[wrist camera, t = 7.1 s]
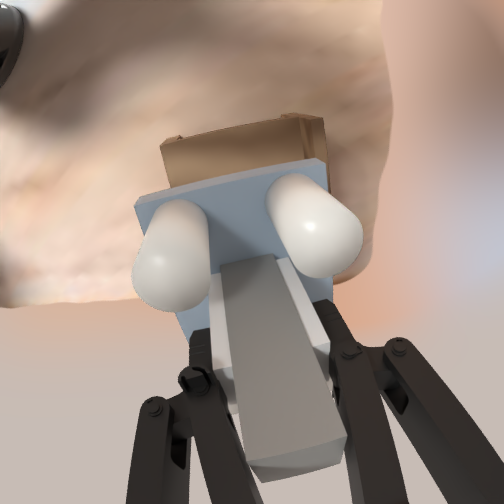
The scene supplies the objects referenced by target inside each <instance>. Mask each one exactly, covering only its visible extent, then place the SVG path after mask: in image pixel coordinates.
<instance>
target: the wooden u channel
mask: <svg viewBox="0 0 504 504" xmlns="http://www.w3.org/2000/svg"><path fill="white" fill-rule="evenodd" d="M281 117H282V118H281V119H274V120H268V121H262V122H256V123H251V124H245V125H240V126H235V127H230V128H225V129H221V130H216V131H211V132H207V133H203V134H199V135H194V136H190V137H186V138H183V139H180V135H179V136H175V137H172V138H168V139H166V140H165V141H164V142H163V143H162V144H161V145H160V150H161V154H162V157H163V161H164V165H165V169H166V172H167V176H168V180H169V183H170V187H171V188H174V187H178V186H182V185H186V184H190V183H194V182H198V181H202V180H206V179H210V178H215V177H219V176H223V175H228V174H232V173H237V172H242V171H246V170H251V169H256V168H261V167H266V166H272V165H277V164H282V163H288V162H293V161H299V160H305V159H311V158H317V159H319V160H321V161H322V162H324V163H326V173H327V184H328V193H329V194H330V195H331V189H330V177H329V167H328V157H327V147H326V138H325V130H324V122H323V118H321V117H315V116H309V115H303V114H297V113H290V114H283V115H281Z"/></svg>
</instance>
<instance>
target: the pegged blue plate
mask: <svg viewBox="0 0 504 504" xmlns="http://www.w3.org/2000/svg"><path fill="white" fill-rule="evenodd" d="M134 208H135V211H136V214H137V217H138V220H139V223H140V226H141V229H142V231H143V234H144V239H143V242H142V244H141V247H140V249H139V252H138V255H137V257H136V260H135V263H134V265H133V269H132V275H131V277H132V284H133V287H134V289H135V291H136V293H137V294H138V296H139V297H140V298H141V299H142V300H143V301H144V302H145V303H146V304H148V305H150V306H151V307H153V308H155V309H158V310H161V311H166V312H175V314H176V317H177V319H178V321H179V324H180V326H181V328H182V330H183V332H184V334H185V336H186V339H187V341H188V343H189V339H190V337H191V335H192V333H193V331H194V330H199V329H204V328H209V327H210V316H209V297H208V292H209V290H210V286H211V275H212V274H216V273H221V281H222V290H223V298H224V307H225V315H226V324H227V332H228V340H229V348H230V355H231V363H232V370H233V377H234V384H235V392H236V398H237V404H233V405H229V403H228V409H229V411H230V413H231V415H232V414H237V413H239V418H240V425H241V431H242V438H243V443H244V449H245V456H246V461H247V463H248V464H249V466H250V467H251V469H252V470H253V472H254V473H255V474H256V476H257V477H258V479H259V480H260V481H261V483H265V482H270V481H275V480H280V479H285V478H289V477H293V476H297V475H301V474H305V473H309V472H313V471H317V470H320V469H323V468H327V467H330V466H333V465H336V464H339V463H340V462H341V459H342V455H343V451H344V447H345V443H346V439H347V433H346V430H345V428H344V425H343V423H342V420H341V418H340V415H339V413H338V410H337V408H336V405H335V403H334V400H333V398H332V395H331V393H330V391H331V390H333V382H332V380H331V377H330V375H329V381H327V382H326V380H325V378H324V375H323V373H322V370H321V368H320V365H319V363H318V360H317V358H316V355H315V353H314V351H313V348H312V346H311V343H310V341H309V338H308V336H307V333H306V331H305V329H304V326H303V324H302V321H301V319H300V317H299V314H298V312H297V309H296V307H295V305H294V302H293V300H292V298H291V295H290V293H289V290H288V288H287V286H286V283H285V281H284V279H283V276H282V274H281V272H280V269H279V267H278V264H277V262H276V260H277V259H281V258H286V257H289V259H290V261H291V263H292V265H293V267H294V269H295V271H296V273H297V275H298V277H299V279H300V281H301V283H302V285H303V287H304V289H305V291H306V293H307V295H308V297H309V299H310V301H311V303H313V302H316V301H320V300H324V299H328V300H329V301H331V302H332V303H333V276H335V275H337V274H339V273H341V272H342V271H344V270H345V269H347V268H348V267H349V266H350V265H351V264H352V263H353V262H354V261H355V259H356V258H357V256H358V255H359V253H360V250H361V248H362V244H363V228H362V225H361V223H360V221H359V219H358V218H357V217H356V216H355V215H354V214H353V213H352V212H351V211H350V210H348V209H347V208H346V207H345V206H344V205H343V204H341V203H340V202H339V201H338V200H337V199H335V198H334V197H333V196H332V195H330V194H329V193H328V184H327V173H326V163H324V162H322V161H321V160H319V159H317V158H311V159H305V160H299V161H293V162H288V163H282V164H277V165H272V166H266V167H261V168H256V169H251V170H246V171H242V172H237V173H232V174H228V175H223V176H219V177H215V178H210V179H206V180H202V181H198V182H194V183H190V184H186V185H182V186H178V187H174V188H170V189H166V190H163V191H159V192H155V193H152V194H148V195H145V196H141V197H139V199H138V200H137V202H136V203H135V205H134Z"/></svg>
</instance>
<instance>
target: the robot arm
mask: <svg viewBox="0 0 504 504" xmlns="http://www.w3.org/2000/svg"><path fill="white" fill-rule="evenodd" d="M22 39H23V20H22V17H21V14H20V13H19V11H18V10H17V9H16V8H14V7H12V6H10V5H7V4H3V3H0V87H1V86H2V85H3V83H4V82H5V81H6V79H7V77H8V76H9V74H10V72H11V71H12V69H13V67H14V64H15V62H16V60H17V57H18V54H19V51H20V48H21V44H22ZM276 262H277V264H278V267H279V269H280V272H281V274H282V276H283V279H284V281H285V283H286V286H287V288H288V290H289V293H290V295H291V298H292V300H293V302H294V305H295V307H296V309H297V312H298V314H299V317H300V319H301V321H302V324H303V326H304V329H305V331H306V333H307V336H308V338H309V341H310V343H311V346H312V348H313V351H314V353H315V355H316V358H317V360H318V363H319V365H320V368H321V370H322V373H323V375H324V378H325V380H326V382H327V381H329V375H330V377H331V380H332V382H333V390H332V398H334V399H335V404H336V408H337V410H338V413H339V415H340V418H341V420H342V423H343V425H344V428H345V430H346V433H347V439H346V443H345V447H344V452H345V458H346V464H347V470H348V476H349V482H350V489H351V495H352V503H353V504H409V502H408V498H407V494H406V489H405V484H404V480H403V476H402V472H401V467H400V463H399V459H398V456H397V451H396V448H395V444H394V440H393V437H392V433H391V429H390V426H389V422H388V419H387V415H386V412H385V409H384V405H383V402H382V399H381V396H380V394H381V395H382V397H383V399H384V400H385V402H386V403H387V405H388V407H389V408H390V410H391V411H392V413H393V414H394V416H395V417H396V419H397V421H398V422H399V424H400V425H401V427H402V428H403V430H404V432H405V433H406V435H407V437H408V438H409V440H410V441H411V443H412V445H413V446H414V448H415V449H416V451H417V453H418V454H419V456H420V458H421V459H422V460H423V462H424V464H425V466H426V467H427V469H428V471H429V472H430V474H431V476H432V477H433V479H434V481H435V482H436V484H437V486H438V487H439V489H440V491H441V492H442V494H443V496H444V498H445V499H446V501H447V503H448V504H504V463H503V462H502V460H501V459H500V457H499V456H498V454H497V453H496V451H495V450H494V448H493V447H492V445H491V444H490V443H489V441H488V440H487V438H486V437H485V436H484V434H483V433H482V431H481V430H480V429H479V427H478V426H477V425H476V423H475V422H474V420H473V419H472V418H471V416H470V415H469V414H468V412H467V411H466V410H465V408H464V407H463V406H462V404H461V403H460V402H459V401H458V399H457V398H456V397H455V395H454V394H453V393H452V392H451V390H450V389H449V388H448V386H447V385H446V384H445V383H444V382H443V380H442V379H441V378H440V377H439V375H438V374H437V373H436V371H434V369H433V368H432V367H431V365H430V364H429V363H428V362H427V360H426V359H425V358H424V357H423V356H422V354H421V353H420V352H419V351H418V350H417V349H416V347H415V346H414V345H413V344H412V343H411V342H410V341H409V340H407V339H405V338H401V337H396V338H392V339H390V340H389V341H387V343H386V344H385V346H384V347H366V346H363V345H361V344H360V343H359V342H356V340H355V339H354V338H353V336H352V334H351V332H350V330H349V329H348V327H347V325H346V323H345V322H344V320H343V319H342V316H341V315H340V313H339V311H338V309H337V308H336V306H335V304H333V303H332V302H331V301H329V300H328V299H324V300H320V301H316V302H313V303H311V301H310V299H309V297H308V295H307V293H306V291H305V289H304V287H303V285H302V283H301V281H300V279H299V277H298V275H297V273H296V271H295V269H294V267H293V265H292V263H291V261H290V259H289V257H286V258H281V259H277V260H276ZM208 297H209V316H210V327H209V328H204V329H199V330H194V331H193V333H192V335H191V337H190V339H189V348H190V349H189V355H190V356H189V366H188V367H186V368H184V369H183V370H182V371H181V372H180V374H179V376H178V383H179V384H180V386H181V388H182V389H183V392H181V393H180V394H178V395H176V396H174V397H172V398H169V399H167V400H166V399H165V398H163V397H158V396H156V397H151V398H149V399H147V400H146V401H145V402H144V403H143V404H142V406H141V409H140V413H139V419H138V424H137V430H136V435H135V441H134V447H133V453H132V460H131V467H130V474H129V481H128V489H127V497H126V504H189V479H190V454H191V437H192V436H194V438H195V442H196V446H197V451H198V455H199V458H200V463H201V466H202V470H203V474H204V478H205V481H206V485H207V488H208V492H209V495H210V499H211V502H212V504H264V503H263V501H262V498H261V496H260V493H259V491H258V488H257V486H256V483H255V480H254V478H253V475H252V472H251V470H250V467H249V464H248V463H247V461H246V456H245V453H244V451H243V448H242V445H241V442H240V439H239V436H238V434H237V430H236V427H235V425H234V422H233V419H232V416H231V413H230V411H229V409H228V403H229V405H233V404H237V398H236V392H235V384H234V377H233V370H232V363H231V355H230V348H229V340H228V332H227V324H226V315H225V307H224V298H223V290H222V281H221V273H216V274H212V275H211V286H210V290H209V292H208Z"/></svg>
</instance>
